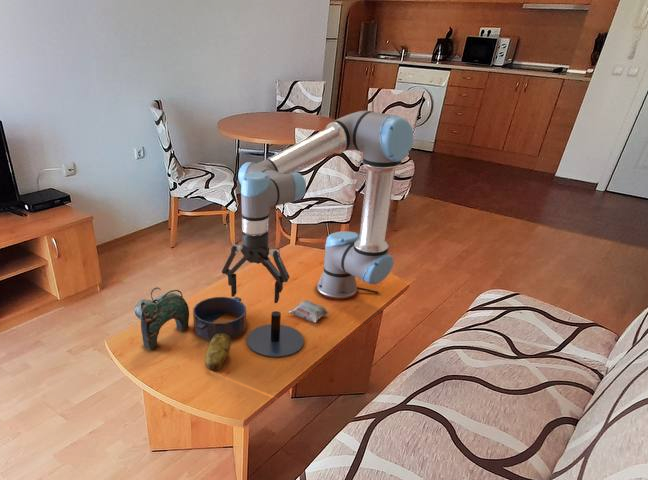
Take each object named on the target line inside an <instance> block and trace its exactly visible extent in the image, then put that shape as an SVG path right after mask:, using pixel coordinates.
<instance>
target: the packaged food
mask: <svg viewBox="0 0 648 480" xmlns="http://www.w3.org/2000/svg"><path fill="white" fill-rule="evenodd" d="M288 313H289V314H293V316H295V317H298V318H301V319H304V320H306V321H309V322H312V323H317V322H318V321H319V320H320V319H321V318H323V317H325V316H327V315H329V314H330V312H329V311H328V310H327V309H326V308H325V307H324V306H322V305H320V304H316V303H313V302H311V301H309V300H304V301H302V302H300V303H299V304H298V305H297V306H296V307H295V308H294V309H291V310H289V311H288Z"/></svg>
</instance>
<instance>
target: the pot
mask: <svg viewBox="0 0 648 480" xmlns="http://www.w3.org/2000/svg"><path fill="white" fill-rule="evenodd" d="M192 310H193V312H192V314H193V327H194V331H195V333H196V335H199V336H200V337H202V338H204V339H207V340H212V338H213V337H214V336H215V335H216V334H221V333H223V334H227V335H228V336H230V338H231V339H234V338H237V337H239V336H240V335H243V333H244V332H245V330H246V328H247V306H246V305H245V304H244V302H242V297H239V296H234V297H229V296H213V297H209V298H205V299H203V300H200V301H199V302H198V303H196V304H195V306H194V307H193V309H192ZM225 314H228V315H232V316H235V317H237V318H236V319H233V320H230V321H225V322H216V321H218V319H219V318H221V317H222V316H223V315H225Z"/></svg>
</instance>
